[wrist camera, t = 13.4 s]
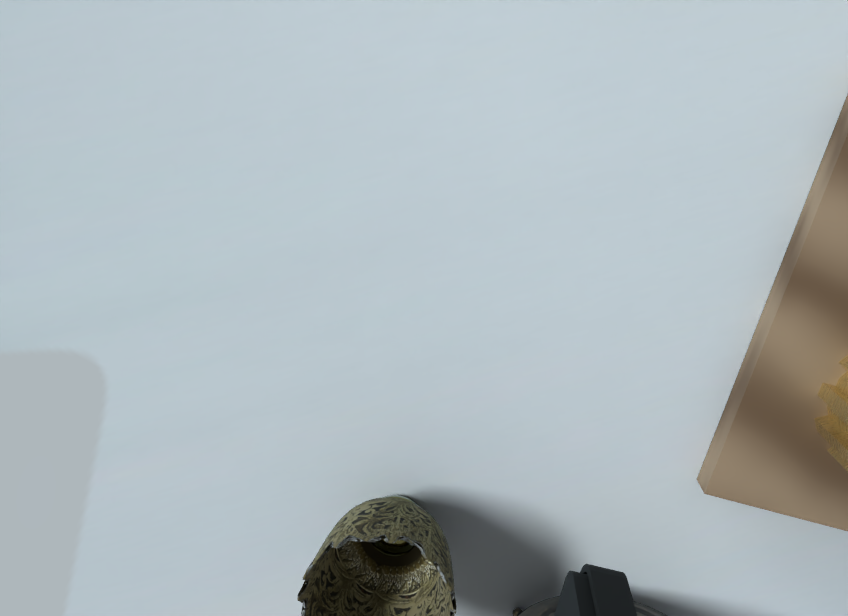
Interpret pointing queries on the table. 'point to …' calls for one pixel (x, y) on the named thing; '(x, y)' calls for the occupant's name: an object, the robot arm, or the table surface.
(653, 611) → the alarm clock
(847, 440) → the brass gear
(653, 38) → the table surface
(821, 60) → the table surface
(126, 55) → the table surface
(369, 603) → the cup
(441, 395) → the table surface
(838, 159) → the gear board
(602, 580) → the robot arm
